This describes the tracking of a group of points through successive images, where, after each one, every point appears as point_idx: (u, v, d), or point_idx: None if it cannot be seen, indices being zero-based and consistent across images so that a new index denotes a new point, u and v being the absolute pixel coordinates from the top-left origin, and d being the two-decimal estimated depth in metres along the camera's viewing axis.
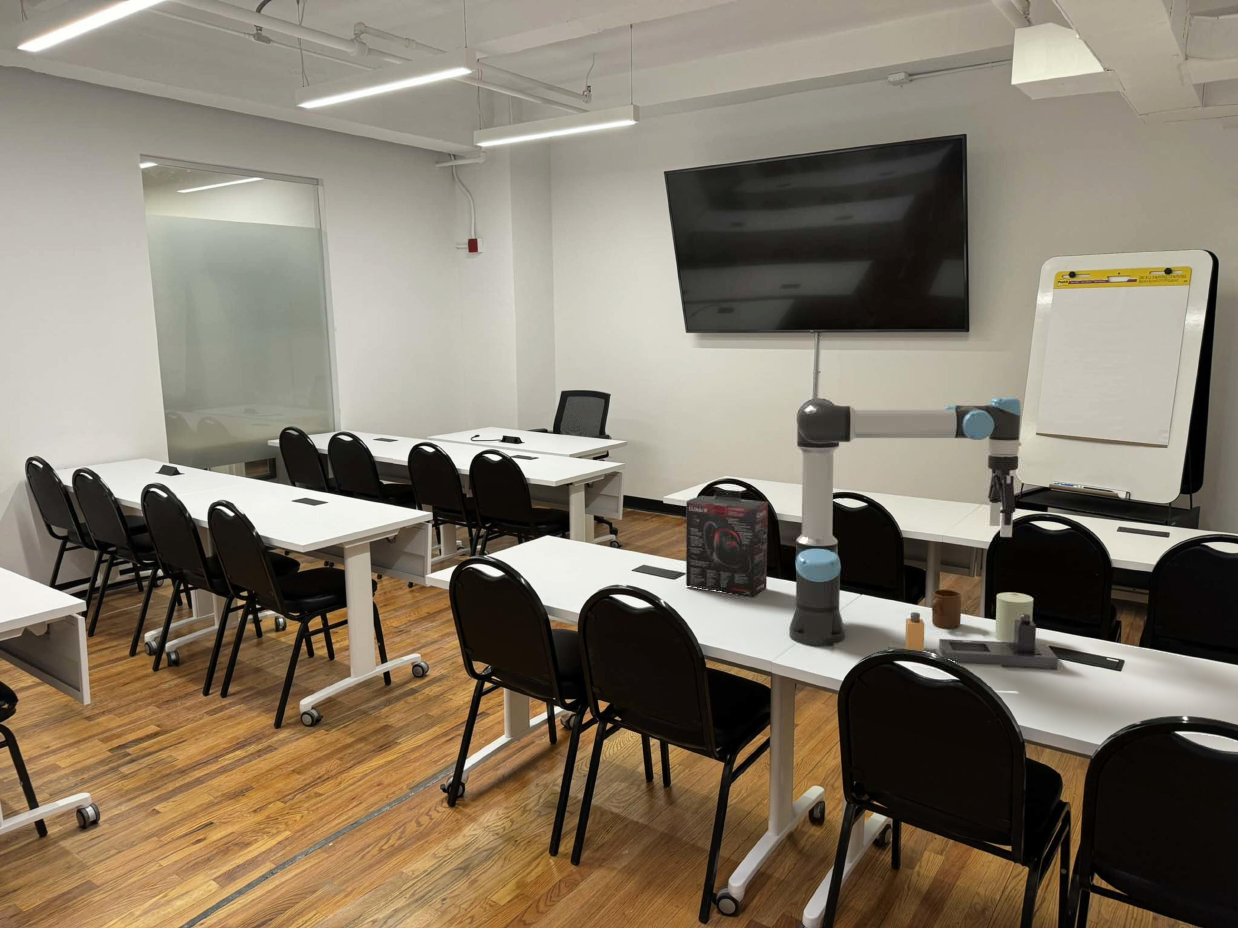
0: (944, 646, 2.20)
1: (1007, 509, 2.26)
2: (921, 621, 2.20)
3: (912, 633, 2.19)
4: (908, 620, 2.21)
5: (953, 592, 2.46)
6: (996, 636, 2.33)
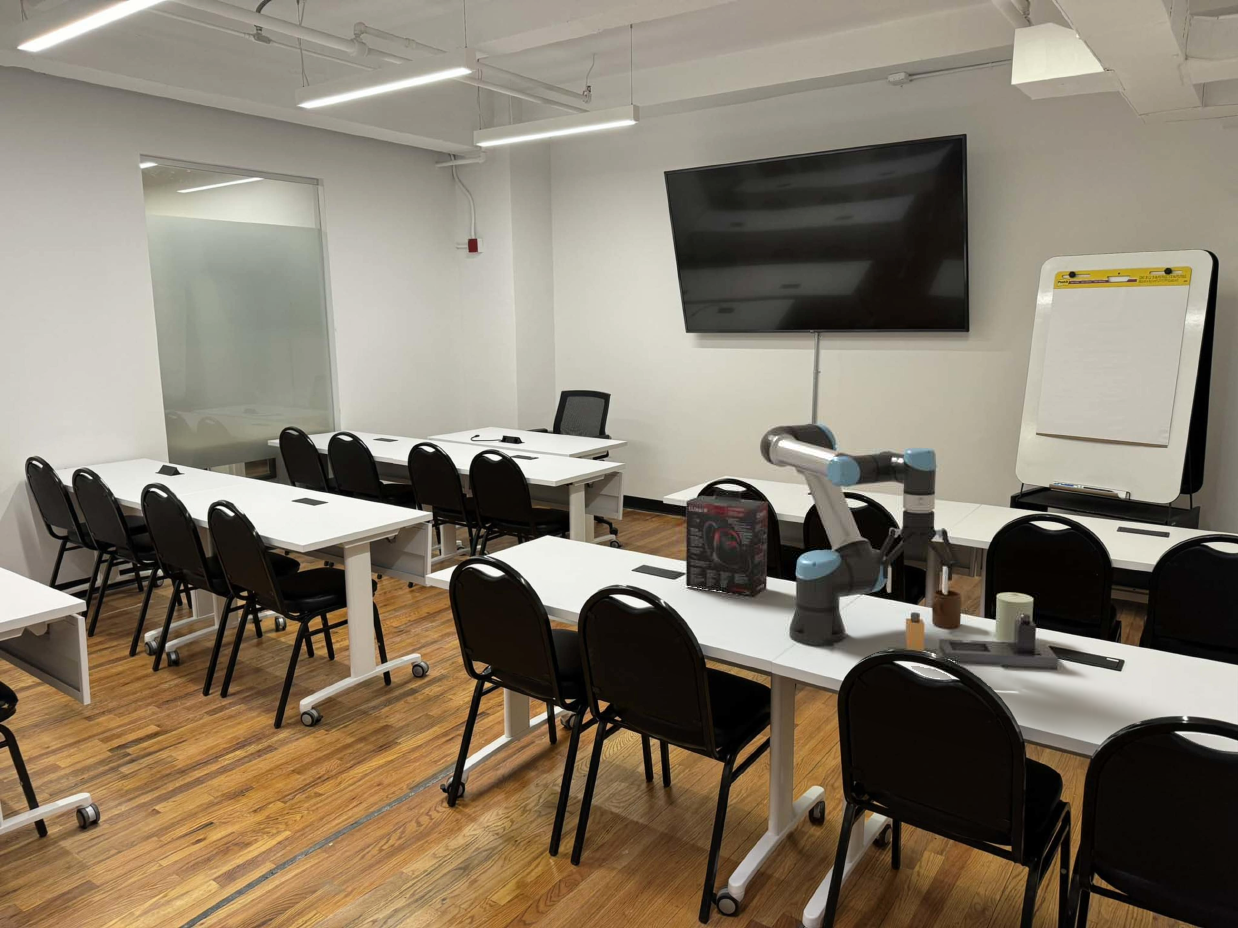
0: (944, 646, 2.20)
1: (875, 559, 2.20)
2: (921, 621, 2.20)
3: (912, 633, 2.19)
4: (908, 620, 2.21)
5: (953, 592, 2.46)
6: (996, 636, 2.33)
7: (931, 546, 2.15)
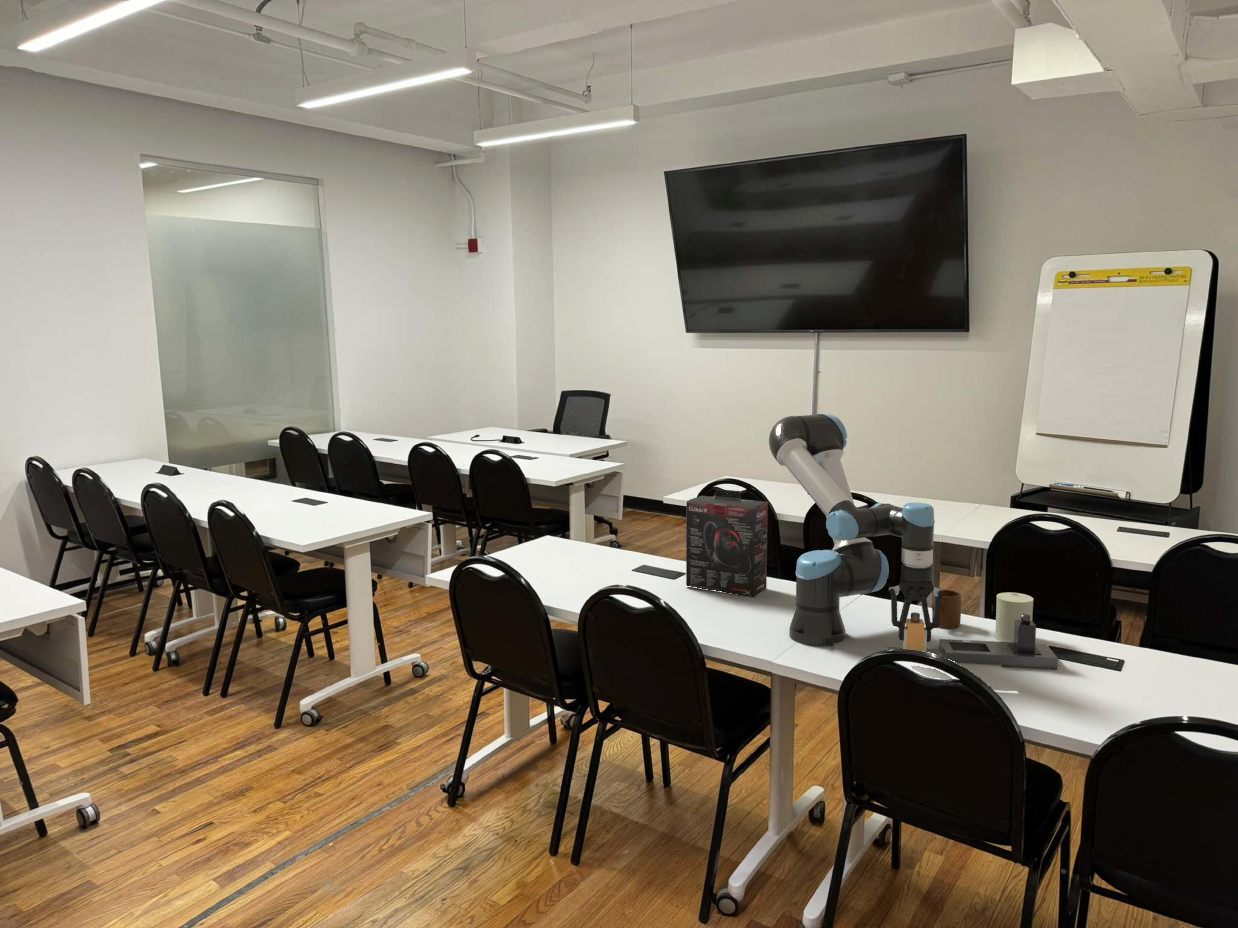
0: (944, 646, 2.20)
1: (892, 620, 2.22)
2: (921, 621, 2.20)
3: (912, 633, 2.19)
4: (908, 620, 2.21)
5: (953, 592, 2.46)
6: (996, 636, 2.33)
7: (923, 602, 2.17)
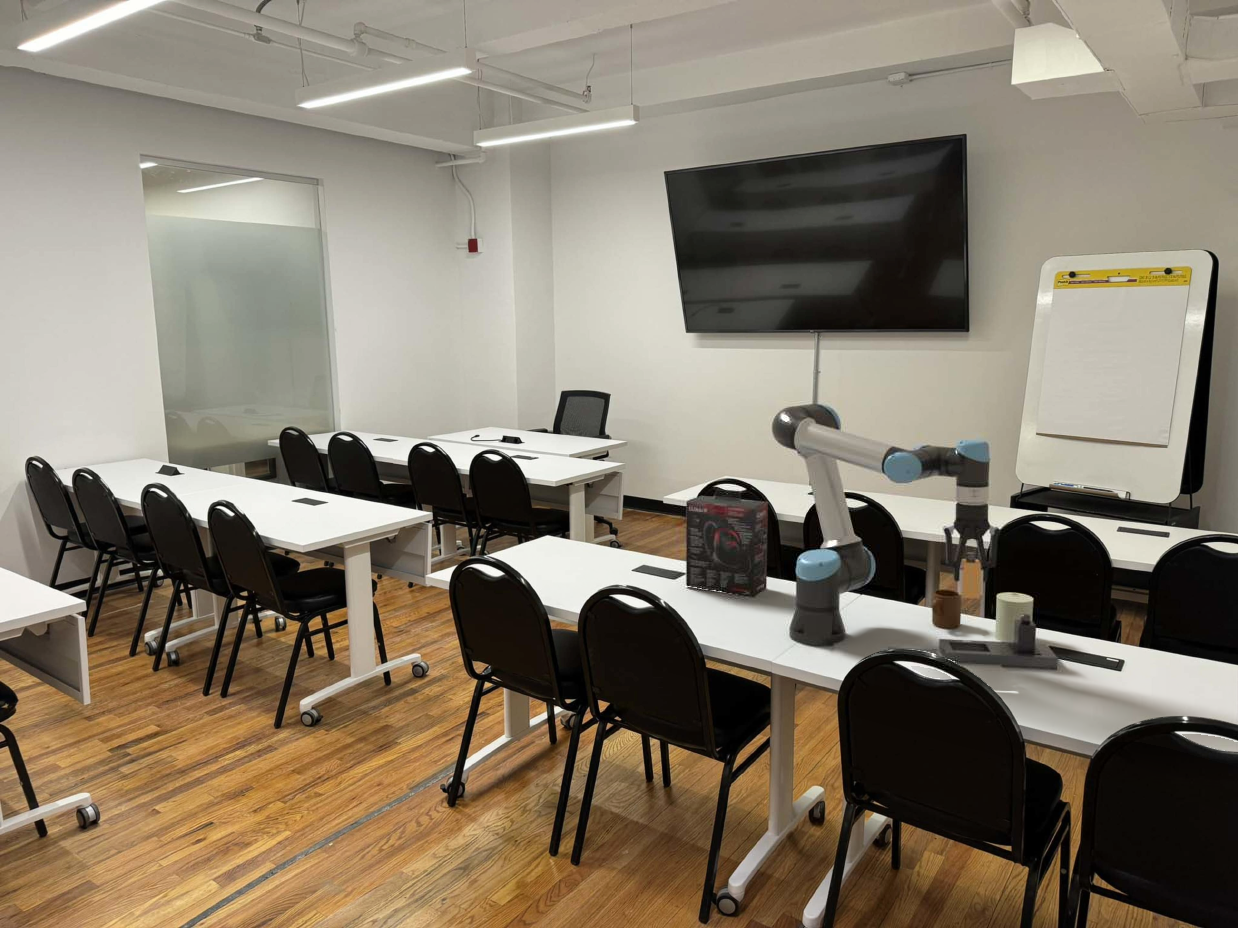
0: (944, 646, 2.20)
1: (946, 561, 2.18)
2: (977, 561, 2.15)
3: (968, 573, 2.14)
4: (963, 560, 2.16)
5: (953, 592, 2.46)
6: (996, 636, 2.33)
7: (979, 541, 2.13)
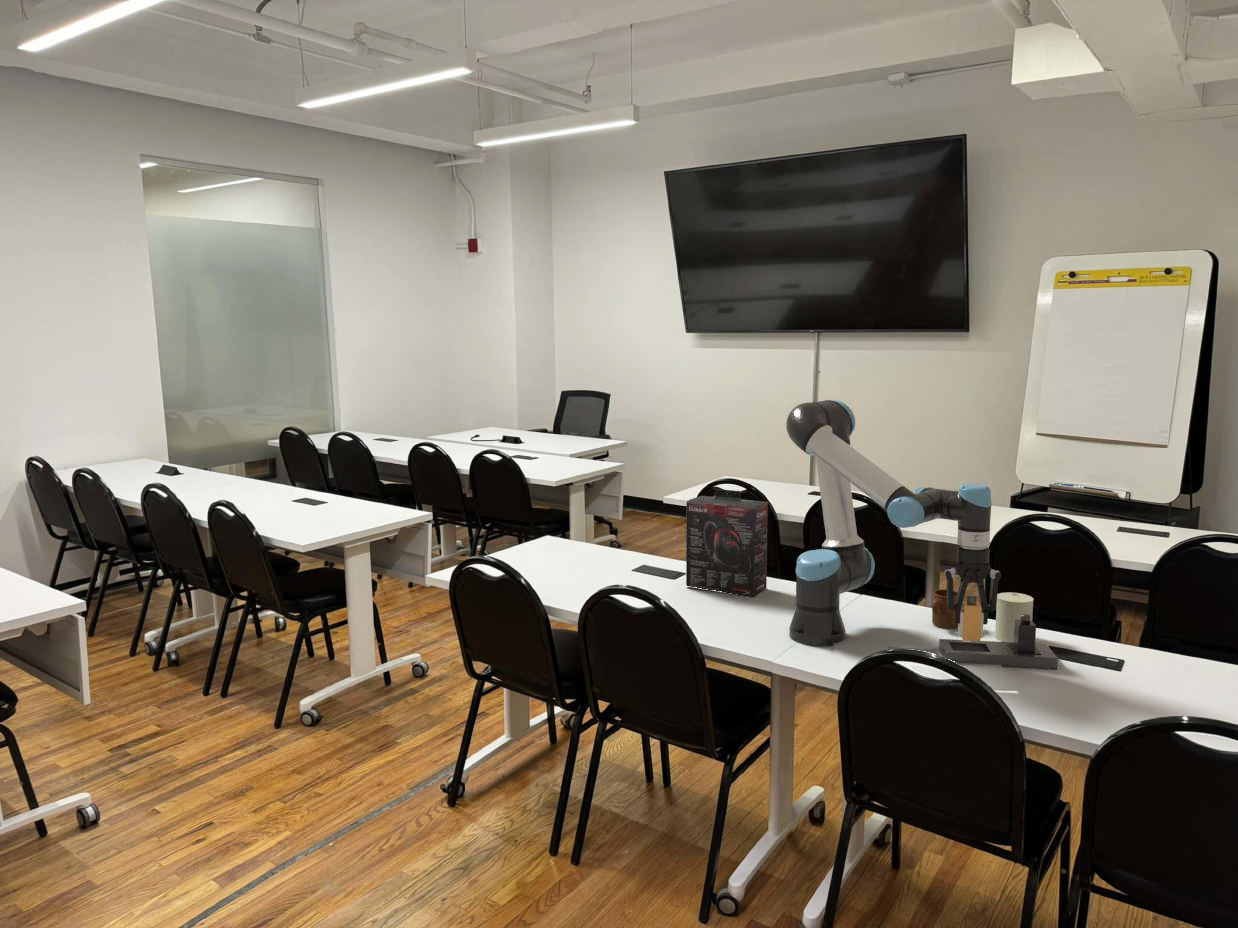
0: (944, 646, 2.20)
1: (947, 603, 2.19)
2: (977, 604, 2.17)
3: (968, 616, 2.16)
4: (964, 603, 2.18)
5: (953, 592, 2.46)
6: (996, 636, 2.33)
7: (980, 584, 2.15)
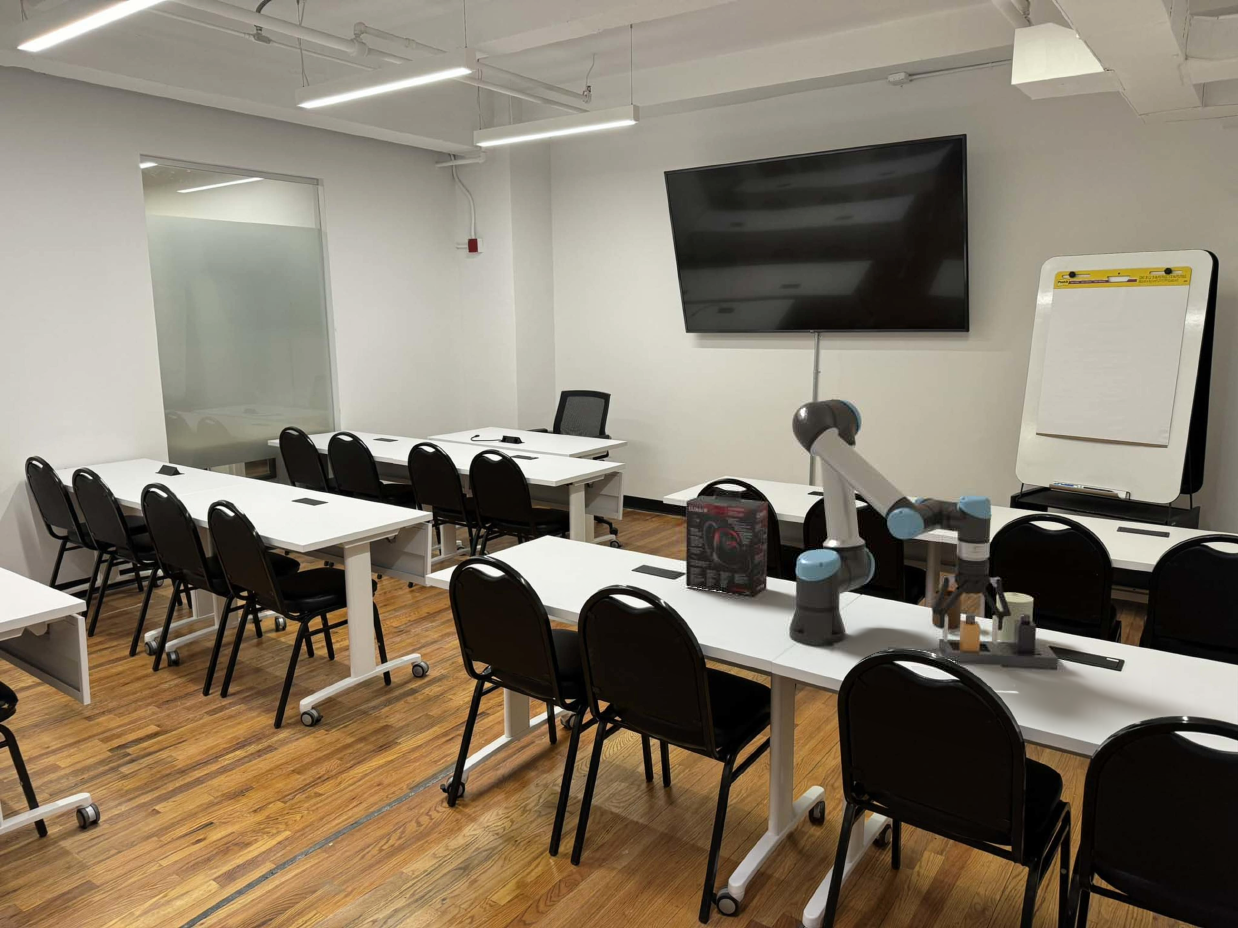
0: (944, 646, 2.20)
1: (932, 608, 2.20)
2: (976, 623, 2.18)
3: (967, 635, 2.17)
4: (963, 622, 2.19)
5: None
6: None
7: (984, 594, 2.15)
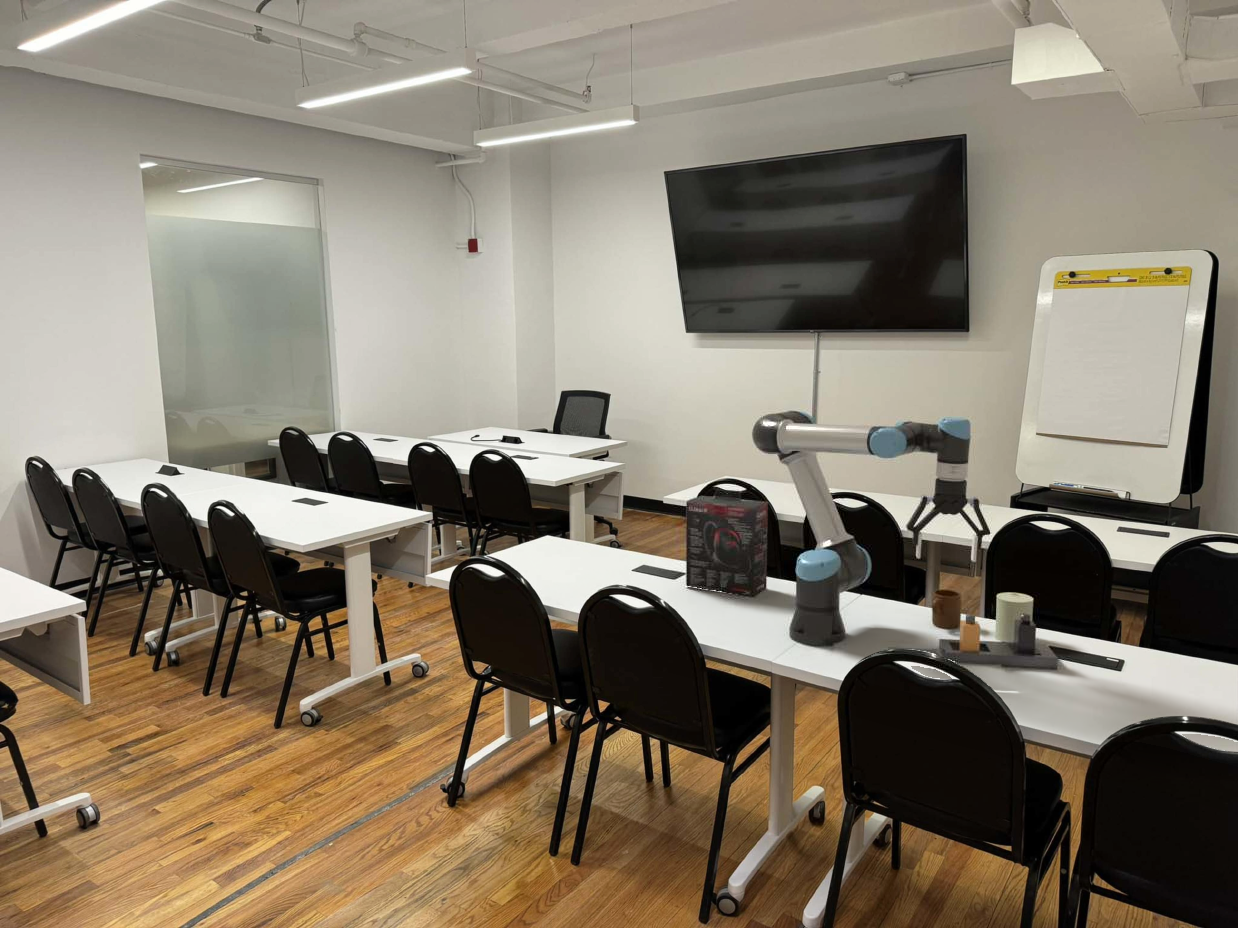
0: (944, 646, 2.20)
1: (906, 525, 2.24)
2: (976, 623, 2.18)
3: (967, 635, 2.17)
4: (963, 622, 2.19)
5: (953, 592, 2.46)
6: (996, 636, 2.33)
7: (962, 514, 2.19)
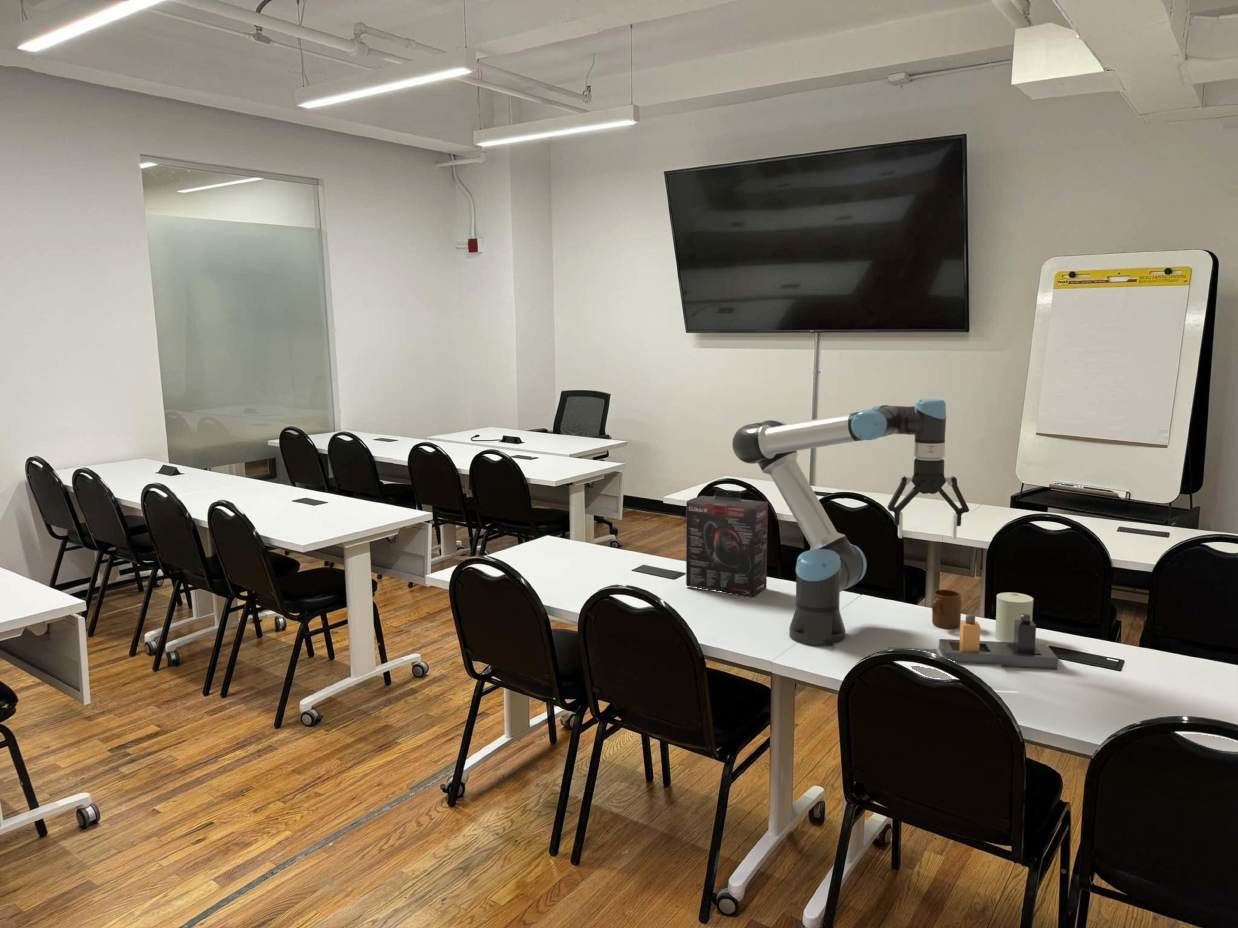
0: (944, 646, 2.20)
1: (887, 506, 2.30)
2: (976, 623, 2.18)
3: (967, 635, 2.17)
4: (963, 622, 2.19)
5: (953, 592, 2.46)
6: (996, 636, 2.33)
7: (941, 493, 2.24)
